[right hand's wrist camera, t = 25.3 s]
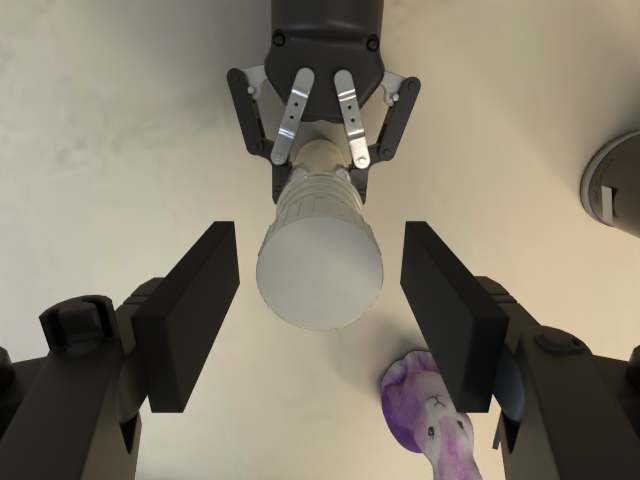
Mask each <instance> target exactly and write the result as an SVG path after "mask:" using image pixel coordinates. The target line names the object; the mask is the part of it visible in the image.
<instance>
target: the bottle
mask: <svg viewBox="0 0 640 480" xmlns="http://www.w3.org/2000/svg"><path fill="white" fill-rule="evenodd" d="M312 198H314V199H325V198H328V199H331V200H335V201H341V203H343V204H346V205H347V206H349V207H351V206H352V207H353V209H354V210H355V211H356V212H358V213H359V214H360V215H361V214H362V216H363V218H364V210H363V204H362V200H361V198H360V195H359V193H358V190H357V188H356V186H355V183H354V181H353V179H352V176H351V174H350V172H349V169H348V167H347V164H346V162H345V160H344V157H343V155H342V153H341V151H340V149H339V148H338V147H337V146H336V145H335V144H334V143H332V142H330V141H328V140H323V139H317V140H312V141H310V142H308V143H306V144H305V145H304V146H303V147H302V148H301V149H300V151H299V153H298V155H297V157H296V159H295V162H294V164H293V166H292V169H291V171H290V173H289V176H288V178H287V180H286V183H285V185H284V187H283V190H282V192H281V195H280V197H279V200H278V203H277V207H276V216H277V215H280V214H281V213H282V212H283V211H285V210H286V208H287V207H291V206H292V205H294V204H296V203H298V201H305V200H309V199H312Z"/></svg>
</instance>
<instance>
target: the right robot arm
mask: <svg viewBox="0 0 640 480" xmlns="http://www.w3.org/2000/svg"><path fill="white" fill-rule="evenodd" d="M239 284H240V280H239V269H238V258H237V247H236V237H235V226H234V221H214V223H213V224H212V225H211V226H210V227H209V228H208V229H207V230H206V232H205V233H204V234H203V235H202V236H201V237H200V238H199V240H198V241H197V242H196V243H195V244H194V245H193V246H192V247H191V249H190V250H189V251H188V252H187V253H186V254H185V255H184V257H183V258H182V259H181V260H180V261H179V262H178V263H177V264H176V266H175V267H174V268H173V269H172V270H171V271H170V272H169V274H168V275H167V276H166V277H165V278H153V279H151V280H149V281H147V282H145V283H144V284H142V285H140V286H139V287H138V288H137V289H136V290H135V291H134V292H133V293H132V294H131V297H128V298H127V299H126V300H125V301H124V302H123V305H120V306H119V307H118V308H117V309H116V310H115V311H114V308H113V304H112V300H111V299H110V298H108V297H107V296H102V295H86V296H80V297H76V298H71V299H68V300H66V301H63V302H60V303H57V304H56V305H54V306H52V307H50V308H48V309H47V310H45V311H44V312H43V313H42V314H41V315H40V316H39V319H40V322H41V325H42V328H43V331H44V334H45V337H46V340H47V343H48V346H49V349H50V351H49V353H48V355H47V356H46V357H42V358H36V359H31V360H26V361H21V362H16V363H12V362H11V360H10V357H9V355H8V352H7V350H5V349H4V348H2V347H0V480H134V479H135V472H136V464H137V457H138V449H139V442H140V435H141V427H142V423H141V417H140V413H139V409H140V407H141V405H142V403H143V402H144V400H145V398H146V397H147V395H148V398H149V403H150V407H151V411H152V413H183V411H184V409H185V407H186V405H187V402H188V400H189V398H190V395H191V393H192V391H193V389H194V386H195V384H196V382H197V380H198V377H199V375H200V373H201V371H202V368H203V366H204V364H205V361H206V359H207V357H208V355H209V352H210V350H211V348H212V346H213V343H214V341H215V339H216V337H217V334H218V332H219V330H220V327H221V325H222V323H223V321H224V318H225V316H226V314H227V312H228V309H229V307H230V305H231V303H232V300H233V298H234V296H235V293H236V291H237V289H238V287H239ZM400 284H401V287H402V289H403V291H404V293H405V296H406V298H407V300H408V303H409V305H410V307H411V309H412V312H413V314H414V316H415V318H416V321H417V323H418V325H419V327H420V330H421V332H422V334H423V337H424V339H425V341H426V343H427V346H428V348H429V350H430V352H431V355H432V357H433V359H434V361H435V364H436V366H437V368H438V371H439V373H440V375H441V377H442V380H443V382H444V384H445V386H446V389H447V391H448V393H449V395H450V398H451V400H452V402H453V405H454V407H455V409H456V411H457V413H488V411H489V407H490V403H491V398H492V394H493V395H494V397H495V398H496V400H497V402H498V403H499V405H500V407H501V408H502V409H501V413H500V417H499V421H498V425H497V429H496V433H495V437H494V441H493V449H497V450H498V446H499V442H500V441H501V448H502V456H503V463H504V471H505V478H506V480H640V345H639V346H637V347H636V348H634V350H633V352H632V355H631V357H630V360H629V362H628V361H623V360H618V359H612V358H607V357H602V356H597V355H593V354H592V352H591V350H590V349H589V348H588V347H587V346H586V344H585V343H584V342H583V341H581V340H580V339H578V338H577V337H575V336H574V335H572V334H569V333H567V332H565V331H563V330H560V329H556V328H552V327H549V326H541V325H540V324H539V323H538V322H537V321H536V320H535V319H534V318H533V317H532V316H531V315H530V314H529V313H528V312H527V311H526V310H525V309H524V308H523V307H522V306H521V305H520V304H519V303H517V301H516V300H515V299H514V298H513V297H512V296H511V295H510V294H509V293H508V292H507V290H506V289H505V288H504V287H503V286H502V285H501V284H499V283H497V282H495V281H493V280H492V279H490V278H488V277H486V276H473V275H472V274H471V272H470V271H469V270H468V269H467V268H466V267H465V266H464V264H463V263H462V262H461V261H460V260H459V259H458V258H457V257H456V255H455V254H454V253H453V252H452V251H451V250H450V249H449V247H448V246H447V245H446V244H445V243H444V242H443V241H442V240H441V238H440V237H439V236H438V235H437V234H436V233H435V232H434V230H433V229H432V228H431V227H430V226H429V225H428V224H427V223H426V221H406V226H405V237H404V247H403V258H402V269H401V280H400Z"/></svg>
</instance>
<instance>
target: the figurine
mask: <svg viewBox="0 0 640 480" xmlns="http://www.w3.org/2000/svg"><path fill="white" fill-rule="evenodd" d="M381 403H382V410H383V414H384V417H385V419H386V422H387V424H388V427H389V429H390V431H391V433H392V434H393V436H394V437H395V438H396V440H397V441H398V442H399V443H400V444H401V445H402V446H403V447H404V448H406V449H407V450H409V451H412V452H415V453H423V454H424V455H425V456H426V457H427V459H428V460H429V461H430V463H431V465H432V467H433V477H434V480H483V479H482V476H481V475H480V473H479V469H478V467H477V465H476V463H475V461H474V458H473V446H474V433H473V426H472V423H471V420H470V418H469V417H468V415H467V414H466V413H457V411H456V409H455V407H454V405H453V402H452V400H451V398H450V395H449V393H448V391H447V389H446V386H445V384H444V382H443V380H442V377H441V375H440V373H439V371H438V368H437V366H436V364H435V361H434V359H433V357H432V355H431V352H425V351H424V352H423V351H413V352H410V353H408V354H407V355H406V356H405V357H404V359H402V360H400V361H399V360H398V361H396V362H395V363H393V364H392V366H390V368H389V370H388V371H387V373H386V374H385V376H384V378H383V380H382V383H381Z"/></svg>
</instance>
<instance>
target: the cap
mask: <svg viewBox="0 0 640 480" xmlns="http://www.w3.org/2000/svg"><path fill="white" fill-rule="evenodd" d="M258 256H259V258H258V262H257V267H256V268H257V269H256V278H257V284H258V288H259V291H260V294H261V296H262V298H263V299H264V301H265V303H266V304H267V305H268V307H269V308H270V309H271V310H272V311H273V312H274V313H275V314H276V315H277V316H279V317H280V318H281V319H283V320H285V321H286V322H288V323H290V324H292V325H295V326H298V327H301V328H305V329H311V330H329V329H335V328H339V327H342V326H345V325H347V324H349V323H352V322H353V321H355V320H357V319H358V318H360V317H361V316H362V315H363V314H365V313H366V312H367V311H368V310H369V309H370V308H371V306H372V305H373V303H374V302H375V300H376V299H377V297H378V295H379V292H380V290H381V287H382V282H383V264H382V259H381V252H380V249H379V247H378V244H377V242H376V239H375V237H374V235H373V232H372V230H371V227H370V225H367V223H366V222H365V220H364V218H363V216H362V214H361V215H360V214H359V213H358V212H356V211H355V210H354V209H353V207H352V206H351V207H349V206H347V205H346V204H343V203H341V201H335V200H331V199H328V198H325V199H314V198H312V199H309V200H305V201H298V203H296V204H294V205H292V206H291V207H287V208H286V210H285V211H283V212H282V213H281V214H280V215H277V216H276V219H275V221H274V222H273V224H272V226H271V225H270V226H269V229H268V231H267V234H266V236H265V238H264V241H263V244H262V246H261V249H260V251H259V254H258Z"/></svg>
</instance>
